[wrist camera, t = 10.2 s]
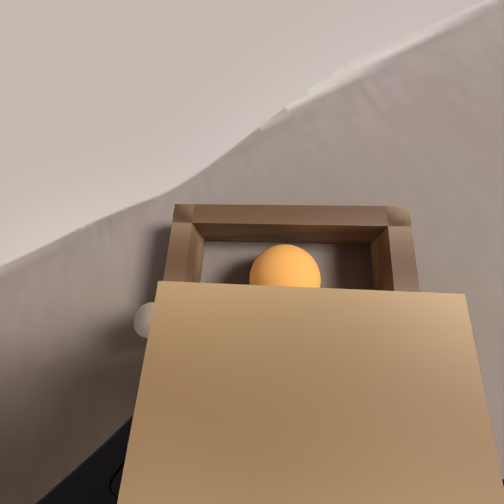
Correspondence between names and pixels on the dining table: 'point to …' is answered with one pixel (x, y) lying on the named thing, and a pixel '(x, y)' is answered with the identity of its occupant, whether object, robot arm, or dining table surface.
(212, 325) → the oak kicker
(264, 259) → the orange ball
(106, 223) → the dining table surface
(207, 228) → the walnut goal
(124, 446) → the robot arm
